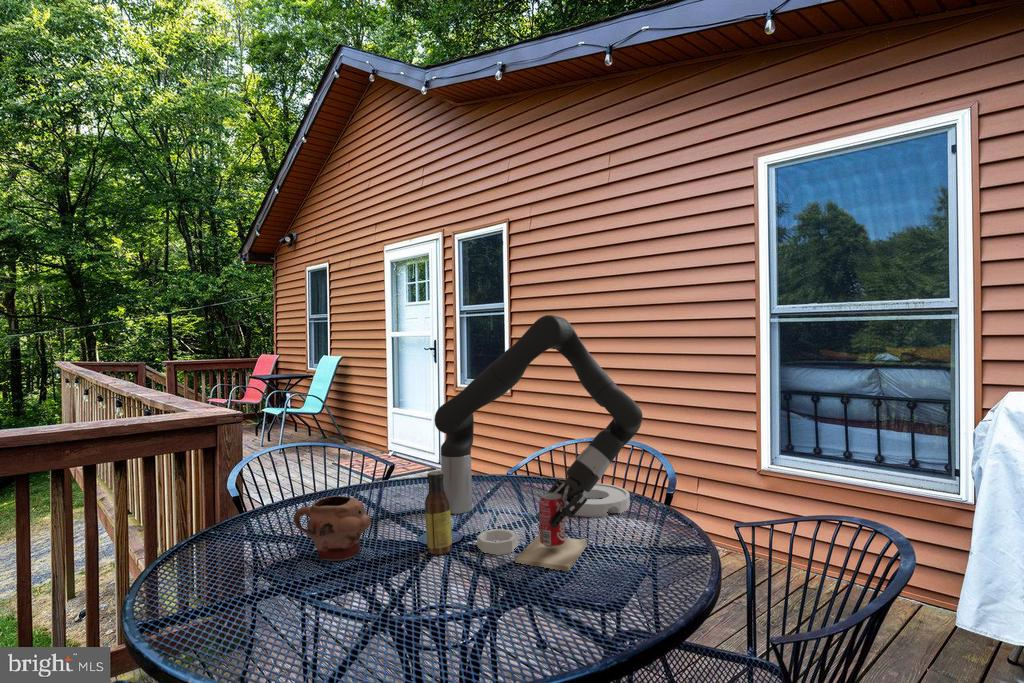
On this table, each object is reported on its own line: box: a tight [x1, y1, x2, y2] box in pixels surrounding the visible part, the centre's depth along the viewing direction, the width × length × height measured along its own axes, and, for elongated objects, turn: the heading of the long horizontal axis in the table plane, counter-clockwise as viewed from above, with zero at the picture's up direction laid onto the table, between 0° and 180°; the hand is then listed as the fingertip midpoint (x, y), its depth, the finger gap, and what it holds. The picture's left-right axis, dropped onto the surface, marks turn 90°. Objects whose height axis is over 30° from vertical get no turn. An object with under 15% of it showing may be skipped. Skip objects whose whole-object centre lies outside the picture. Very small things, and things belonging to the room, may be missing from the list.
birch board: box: [514, 534, 588, 572], centre depth 141 cm, size 13×17×1 cm
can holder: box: [476, 528, 519, 556], centre depth 146 cm, size 10×10×3 cm
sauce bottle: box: [424, 470, 453, 556], centre depth 144 cm, size 6×6×20 cm
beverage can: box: [538, 492, 566, 547], centre depth 141 cm, size 6×6×12 cm
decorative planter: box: [292, 495, 372, 562], centre depth 143 cm, size 20×12×14 cm, turn 88°
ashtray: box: [565, 482, 631, 518], centre depth 180 cm, size 23×23×4 cm
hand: (546, 521), depth 141 cm, fingers closed on beverage can, 6 cm apart
